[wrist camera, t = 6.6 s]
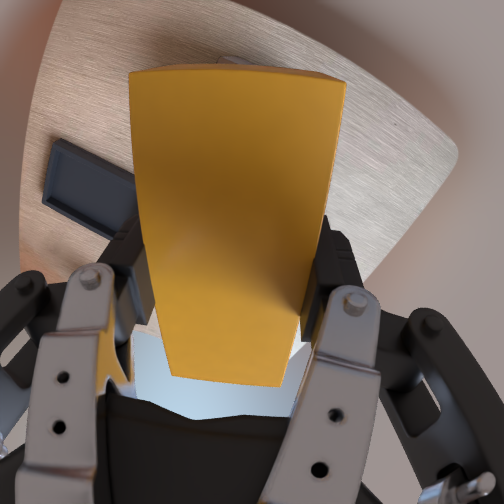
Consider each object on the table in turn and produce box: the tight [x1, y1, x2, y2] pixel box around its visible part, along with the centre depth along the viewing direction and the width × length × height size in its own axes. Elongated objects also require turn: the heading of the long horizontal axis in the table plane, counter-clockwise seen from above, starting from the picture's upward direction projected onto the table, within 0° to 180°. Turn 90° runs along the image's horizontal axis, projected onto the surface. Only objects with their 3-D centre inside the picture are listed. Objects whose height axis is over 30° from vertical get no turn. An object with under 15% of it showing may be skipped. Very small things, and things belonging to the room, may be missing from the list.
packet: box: [129, 64, 347, 387], centre depth 10 cm, size 11×4×4 cm, turn 176°
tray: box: [42, 138, 139, 241], centre depth 39 cm, size 11×17×2 cm, turn 59°
